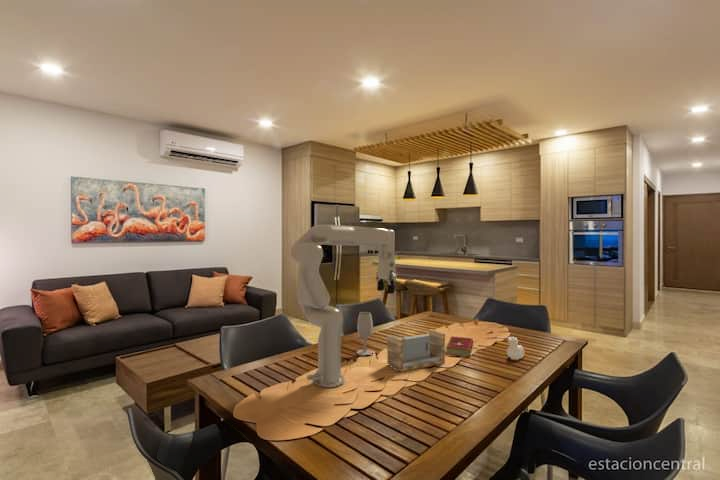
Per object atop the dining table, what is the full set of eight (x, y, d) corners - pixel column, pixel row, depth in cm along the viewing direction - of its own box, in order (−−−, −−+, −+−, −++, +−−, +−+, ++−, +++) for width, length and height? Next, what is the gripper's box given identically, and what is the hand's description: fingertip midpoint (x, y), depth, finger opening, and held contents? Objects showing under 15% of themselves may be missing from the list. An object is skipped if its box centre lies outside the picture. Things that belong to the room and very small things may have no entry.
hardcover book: (473, 345, 209) (473, 337, 209) (470, 357, 189) (470, 348, 189) (451, 343, 213) (451, 335, 213) (446, 354, 194) (446, 346, 194)
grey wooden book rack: (399, 371, 168) (399, 341, 168) (387, 364, 177) (387, 335, 177) (444, 362, 180) (444, 333, 180) (431, 356, 189) (431, 328, 189)
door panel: (406, 365, 174) (406, 339, 174) (401, 362, 177) (401, 337, 177) (430, 360, 180) (430, 335, 180) (425, 358, 183) (425, 333, 183)
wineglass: (373, 356, 189) (373, 315, 188) (356, 356, 189) (356, 315, 188) (373, 351, 197) (373, 311, 197) (356, 350, 198) (356, 311, 197)
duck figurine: (521, 359, 191) (509, 339, 196) (532, 353, 186) (520, 332, 191) (507, 364, 184) (495, 342, 190) (518, 358, 179) (505, 336, 185)
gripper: (403, 256, 171) (402, 294, 171) (384, 254, 186) (383, 289, 186) (388, 256, 167) (387, 295, 168) (370, 254, 183) (370, 289, 183)
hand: (385, 291), depth 177 cm, fingers open, 9 cm apart
